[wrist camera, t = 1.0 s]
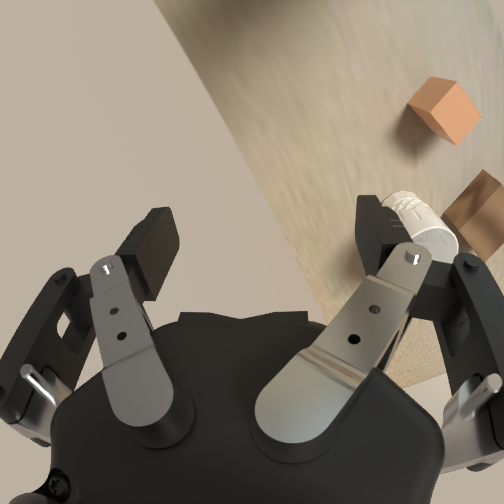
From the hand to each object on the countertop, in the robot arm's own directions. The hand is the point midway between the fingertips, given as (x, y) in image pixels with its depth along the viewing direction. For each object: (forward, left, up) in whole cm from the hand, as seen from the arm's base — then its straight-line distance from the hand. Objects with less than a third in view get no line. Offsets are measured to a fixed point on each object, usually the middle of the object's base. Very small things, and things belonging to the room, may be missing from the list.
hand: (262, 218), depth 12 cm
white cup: (-1, +20, -23) cm, 31 cm away
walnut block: (-11, +30, -23) cm, 39 cm away
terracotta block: (-15, +13, -23) cm, 30 cm away
